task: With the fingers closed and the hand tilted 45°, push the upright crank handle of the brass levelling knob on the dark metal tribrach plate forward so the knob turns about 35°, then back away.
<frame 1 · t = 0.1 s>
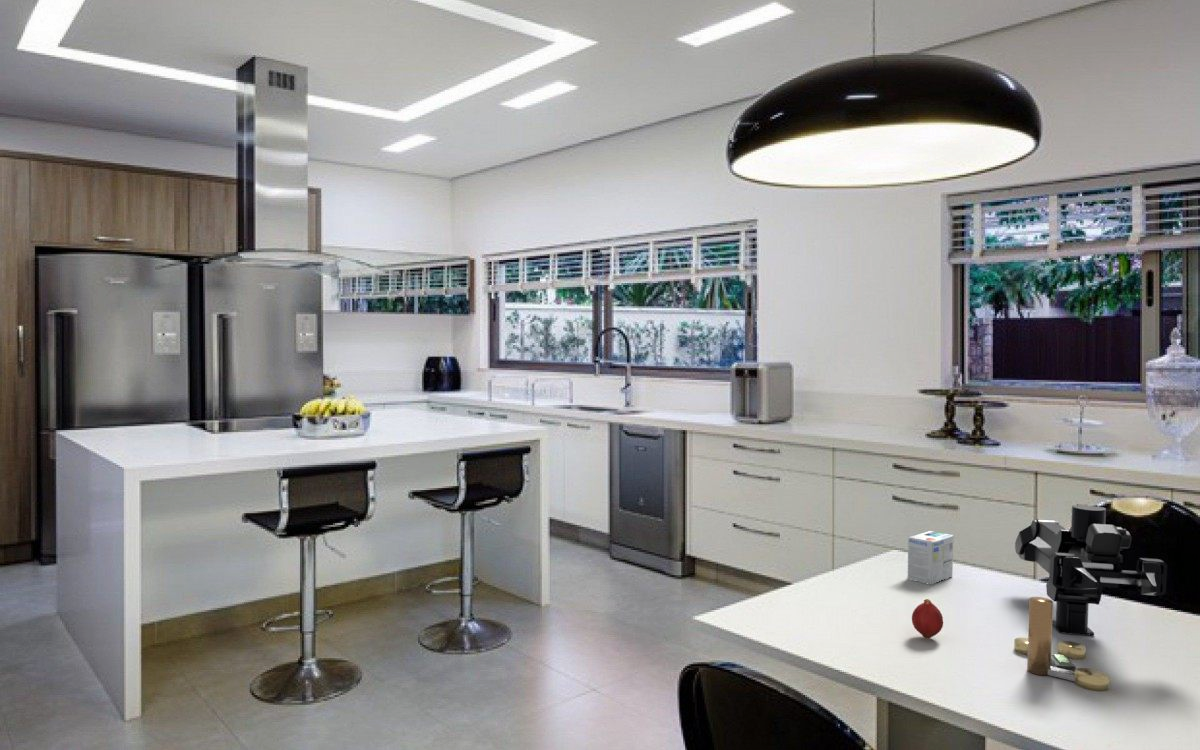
hand: (1126, 587, 142), 17 cm above the table, tool horizontal, fingers open, 9 cm apart
knob lever: (1068, 642, 140), point 8 cm above the table, hinge at 0.0°
tribrach plate: (1060, 673, 145), on the table
onion: (926, 639, 162), on the table
light bulb box: (929, 579, 202), on the table
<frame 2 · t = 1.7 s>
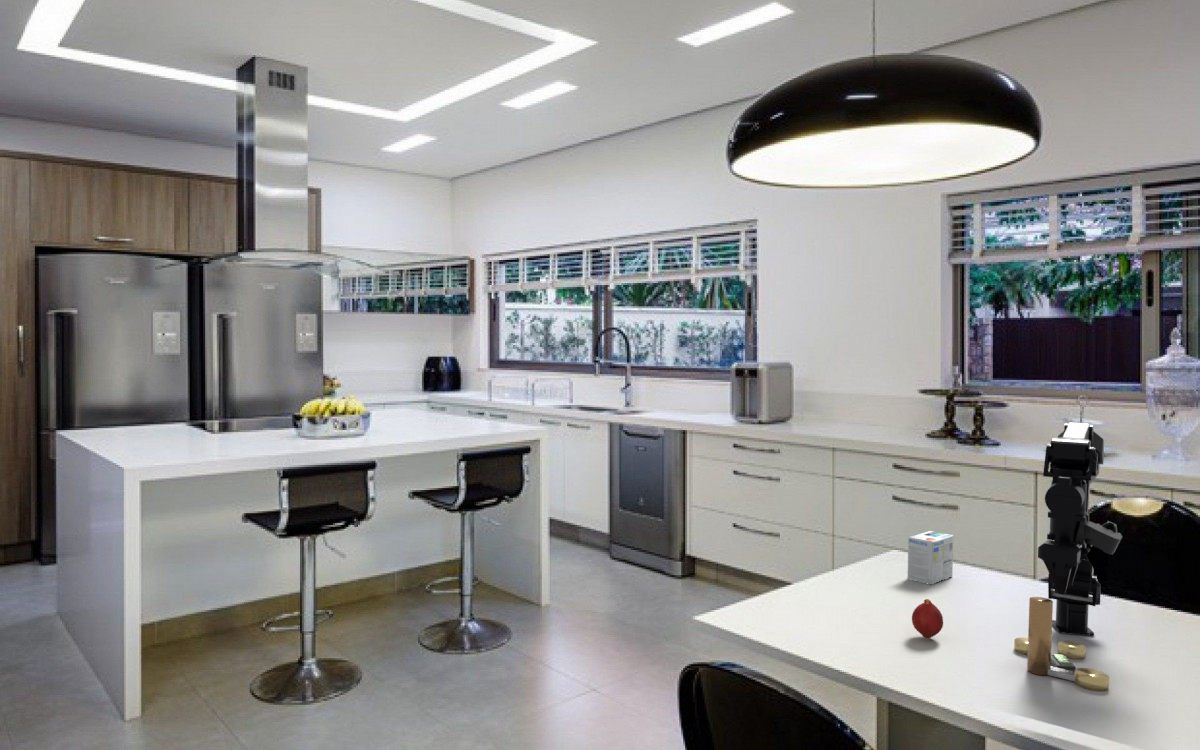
hand: (1065, 589, 152), 13 cm above the table, tool pointing down, fingers open, 6 cm apart
nothing on the table moved.
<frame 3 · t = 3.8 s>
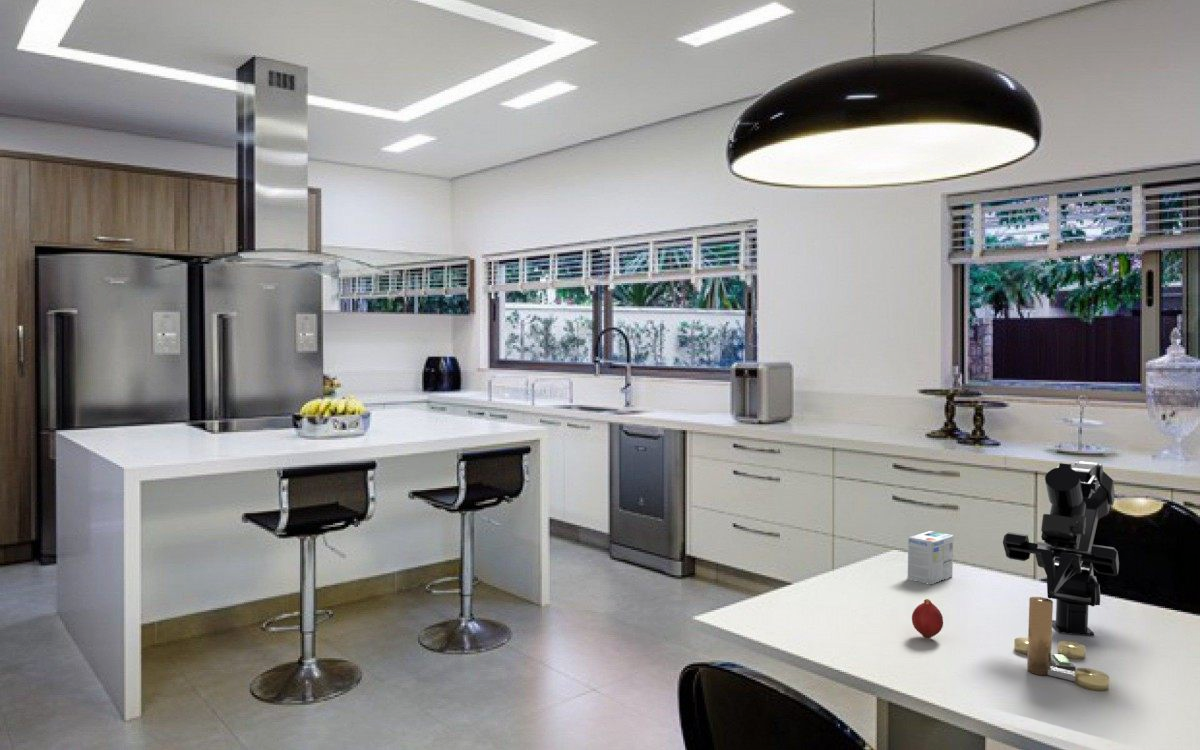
hand: (1052, 592, 150), 13 cm above the table, tool tilted 45°, fingers closed
nothing on the table moved.
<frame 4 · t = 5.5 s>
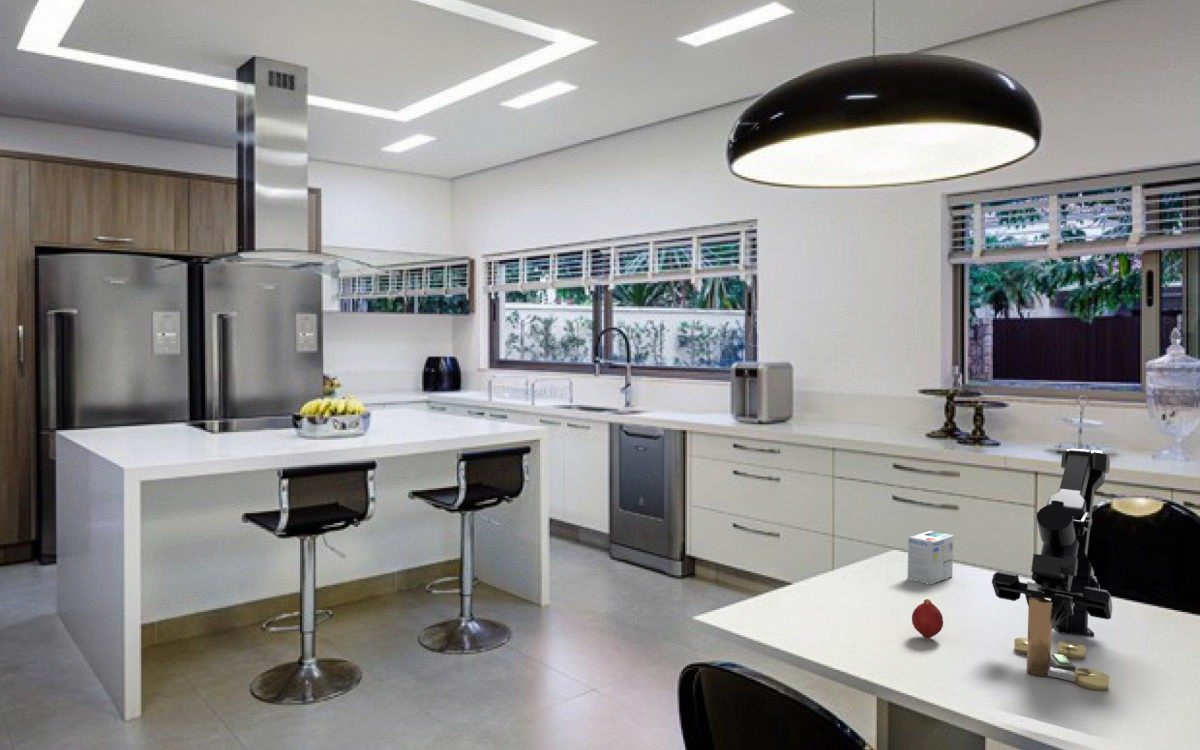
hand: (1042, 635, 144), 7 cm above the table, tool tilted 45°, fingers closed, pressing on knob lever
knob lever: (1067, 642, 140), point 8 cm above the table, hinge at 4.3°, touching gripper
everything else where it was.
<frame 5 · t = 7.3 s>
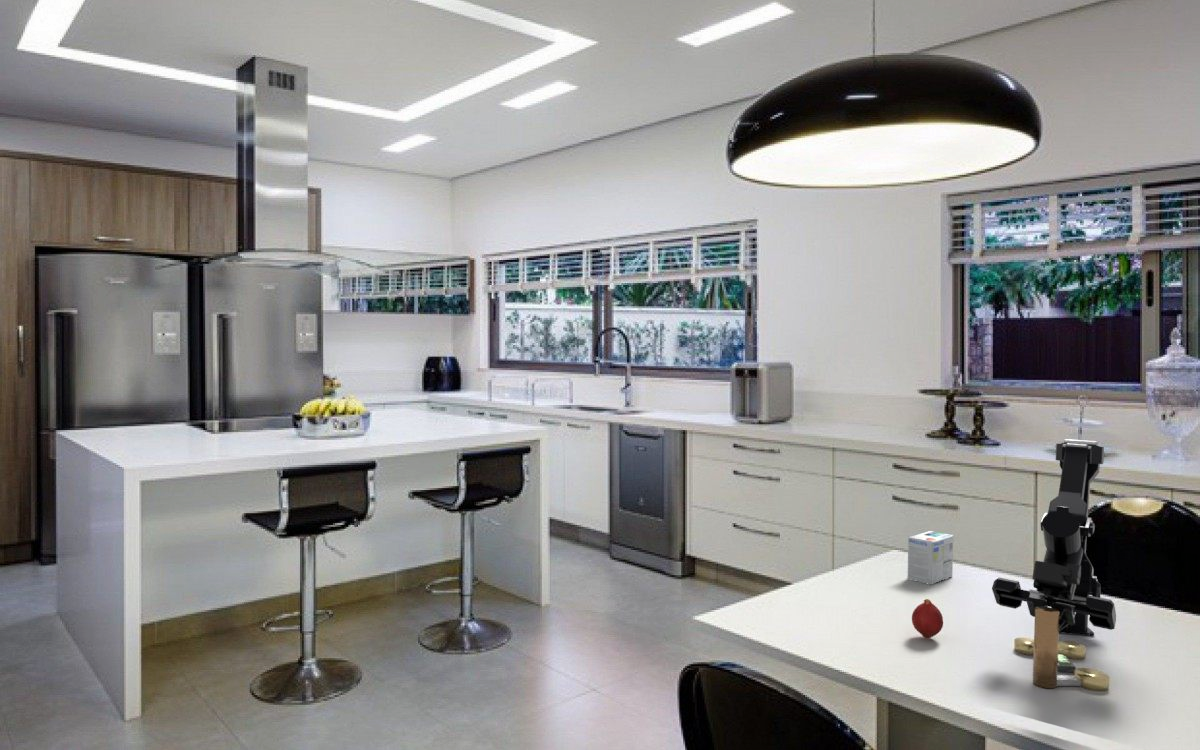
hand: (1042, 645, 139), 7 cm above the table, tool tilted 45°, fingers closed, pressing on knob lever
knob lever: (1071, 647, 137), point 8 cm above the table, hinge at 40.4°, touching gripper
everything else where it was.
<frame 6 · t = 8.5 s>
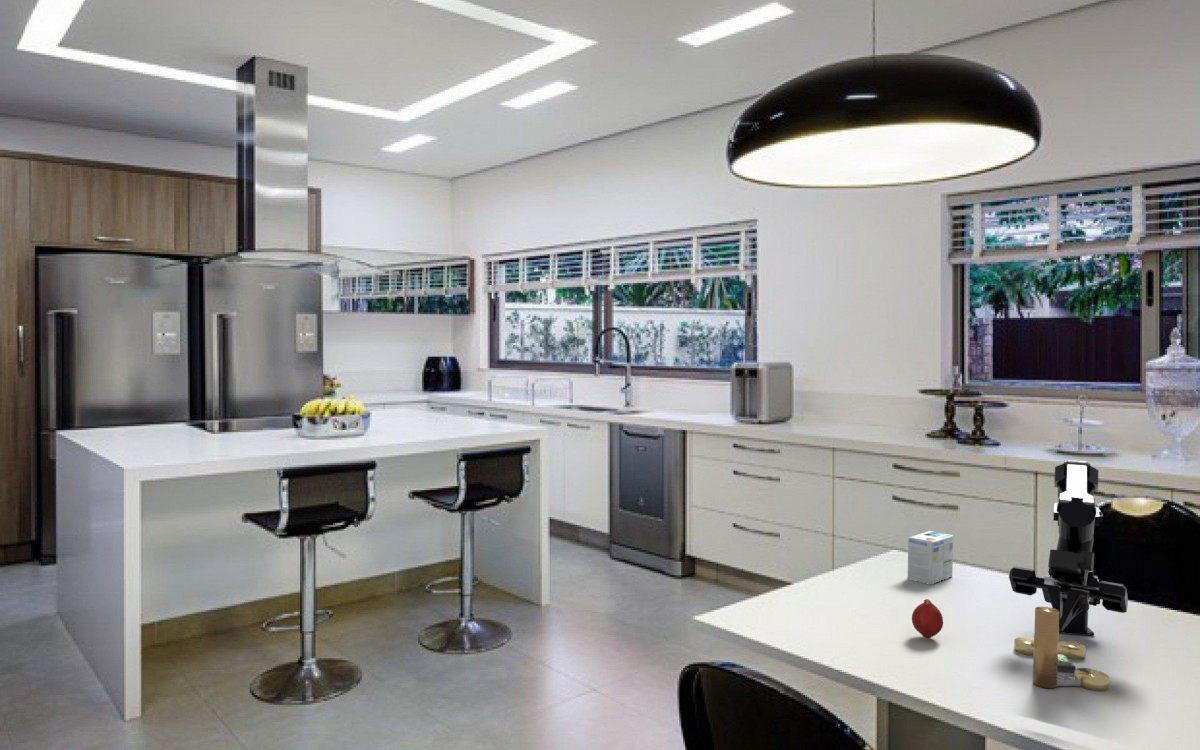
hand: (1059, 629, 147), 7 cm above the table, tool tilted 45°, fingers closed
knob lever: (1071, 647, 137), point 8 cm above the table, hinge at 40.5°
everything else where it was.
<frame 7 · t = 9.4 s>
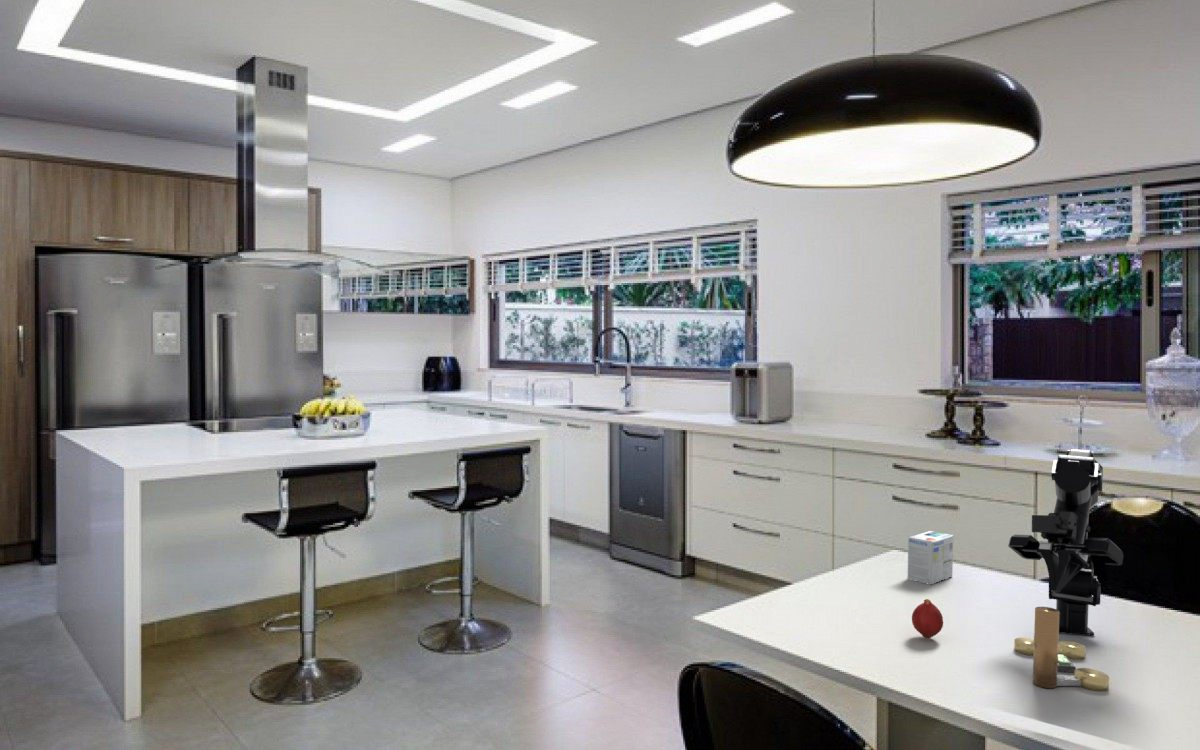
hand: (1055, 591, 150), 13 cm above the table, tool tilted 35°, fingers closed
nothing on the table moved.
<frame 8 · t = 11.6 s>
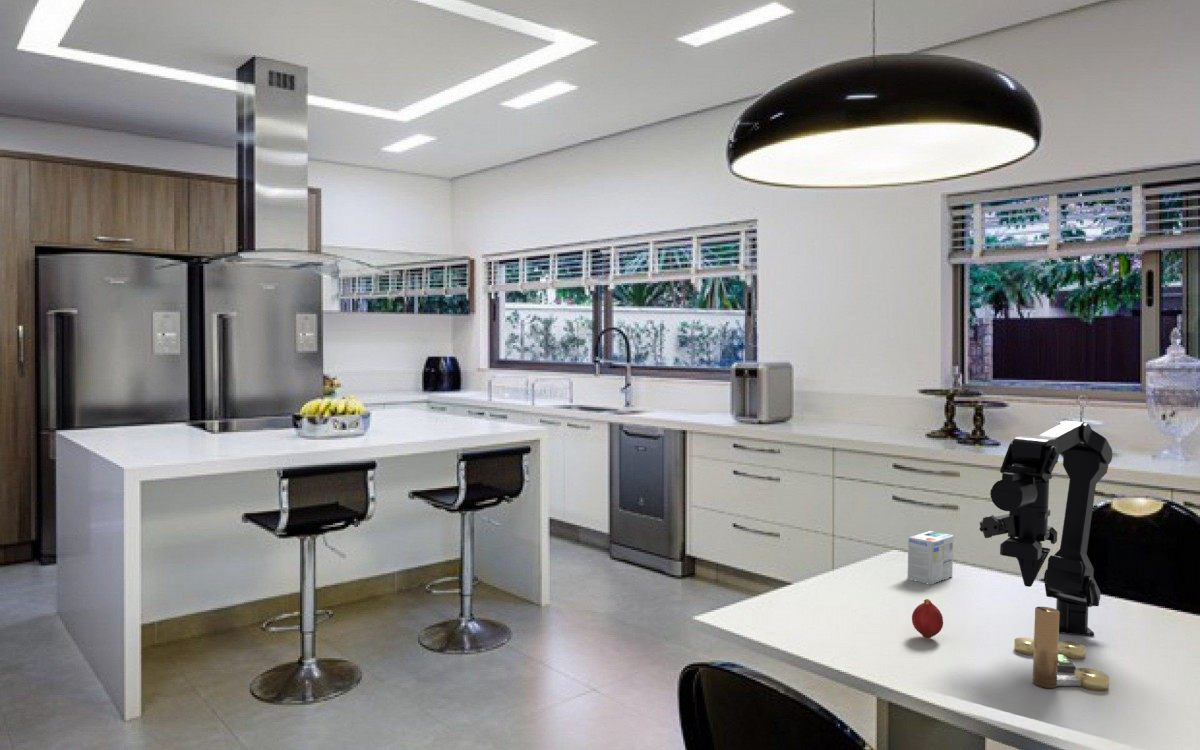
hand: (1028, 586, 154), 13 cm above the table, tool pointing down, fingers closed
nothing on the table moved.
at the end: knob lever at +40° (first picture: +0°); the gripper is holding nothing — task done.
